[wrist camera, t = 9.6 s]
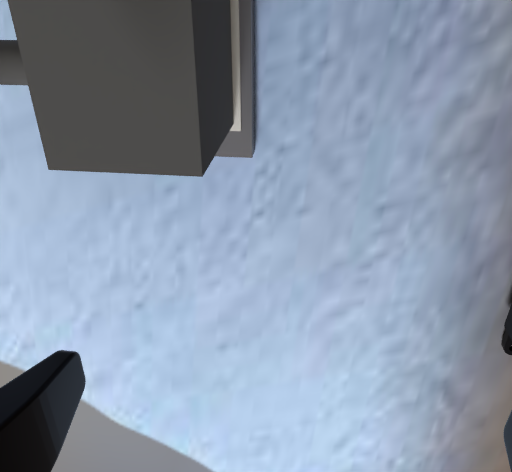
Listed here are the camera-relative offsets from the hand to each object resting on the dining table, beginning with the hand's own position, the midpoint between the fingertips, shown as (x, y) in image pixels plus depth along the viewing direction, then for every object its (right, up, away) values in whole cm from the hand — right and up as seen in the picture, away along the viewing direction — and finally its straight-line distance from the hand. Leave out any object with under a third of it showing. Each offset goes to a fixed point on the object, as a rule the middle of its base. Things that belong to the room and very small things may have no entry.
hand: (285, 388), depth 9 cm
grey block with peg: (-6, +10, +9) cm, 15 cm away
